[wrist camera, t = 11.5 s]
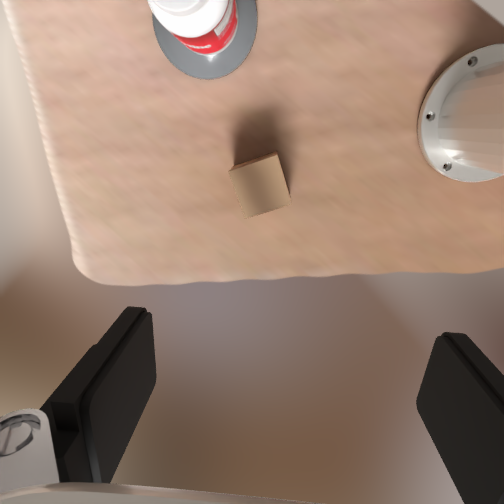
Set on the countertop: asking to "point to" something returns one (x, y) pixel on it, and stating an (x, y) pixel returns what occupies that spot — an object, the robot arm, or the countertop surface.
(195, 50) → the pill bottle
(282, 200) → the light brown wooden block
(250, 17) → the coaster
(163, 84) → the countertop surface
